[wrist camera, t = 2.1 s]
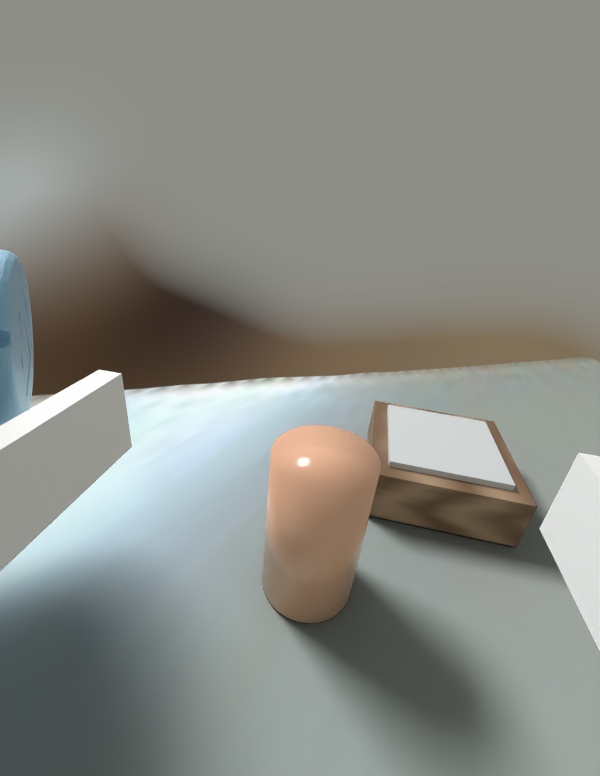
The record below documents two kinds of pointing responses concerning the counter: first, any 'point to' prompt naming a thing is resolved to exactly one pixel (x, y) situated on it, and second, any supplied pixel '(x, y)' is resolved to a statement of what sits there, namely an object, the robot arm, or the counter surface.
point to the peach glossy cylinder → (316, 519)
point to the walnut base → (447, 474)
